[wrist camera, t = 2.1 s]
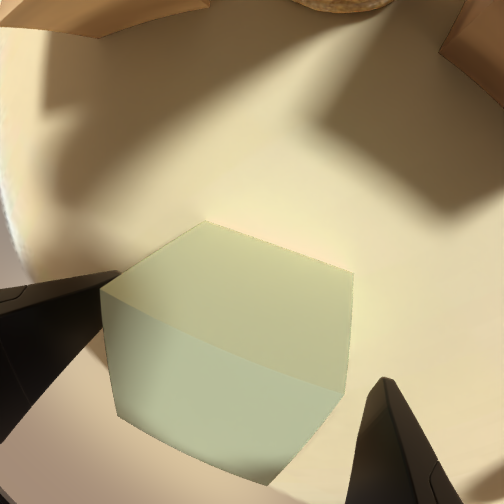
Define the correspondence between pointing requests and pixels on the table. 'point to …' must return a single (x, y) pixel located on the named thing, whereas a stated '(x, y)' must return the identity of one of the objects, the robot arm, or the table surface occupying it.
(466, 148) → the table surface
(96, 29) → the oak cube
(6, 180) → the table surface
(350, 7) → the spice jar
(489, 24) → the walnut cube
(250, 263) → the sage cube
